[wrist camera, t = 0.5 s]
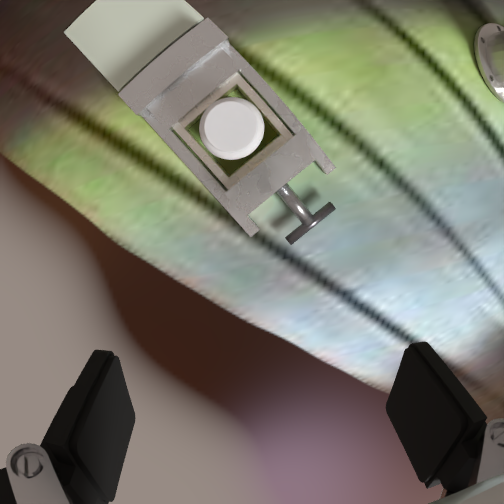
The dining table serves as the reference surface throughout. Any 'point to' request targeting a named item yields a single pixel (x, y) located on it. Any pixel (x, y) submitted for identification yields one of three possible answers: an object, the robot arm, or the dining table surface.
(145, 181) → the dining table surface
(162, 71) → the vise
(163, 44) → the pad
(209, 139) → the supplement bottle
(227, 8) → the dining table surface
